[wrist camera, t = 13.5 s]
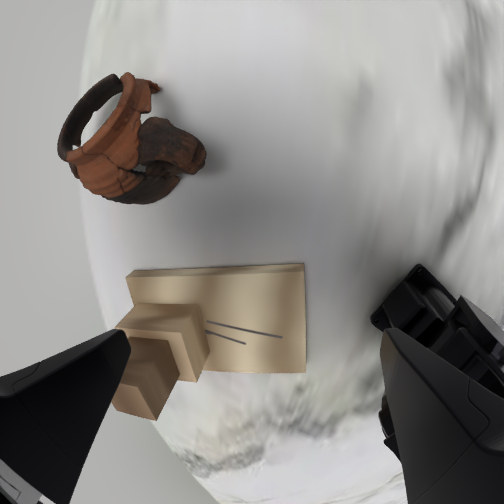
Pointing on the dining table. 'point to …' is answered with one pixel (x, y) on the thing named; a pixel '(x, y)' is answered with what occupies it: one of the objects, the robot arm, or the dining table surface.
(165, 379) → the block
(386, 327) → the robot arm
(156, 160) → the pottery mug
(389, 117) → the dining table surface
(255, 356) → the pine board
